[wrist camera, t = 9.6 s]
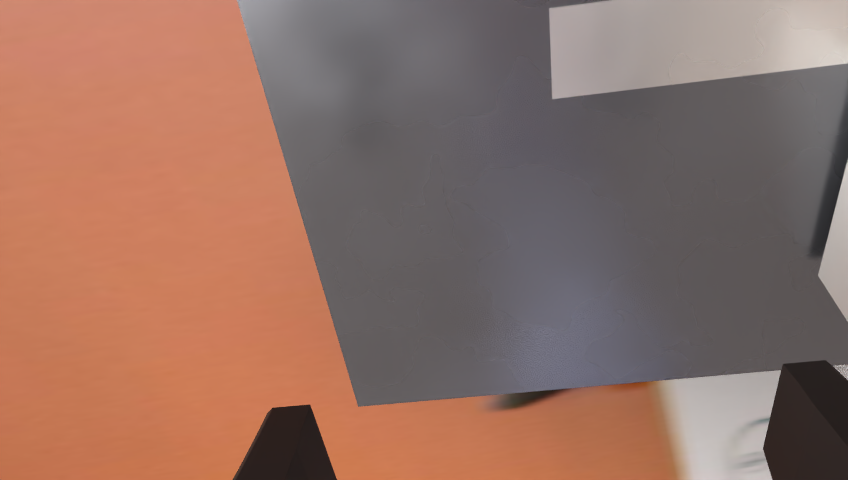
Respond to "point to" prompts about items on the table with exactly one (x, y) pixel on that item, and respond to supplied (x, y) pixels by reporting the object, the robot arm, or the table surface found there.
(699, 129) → the gauge bench
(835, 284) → the gauge
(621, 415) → the table surface
